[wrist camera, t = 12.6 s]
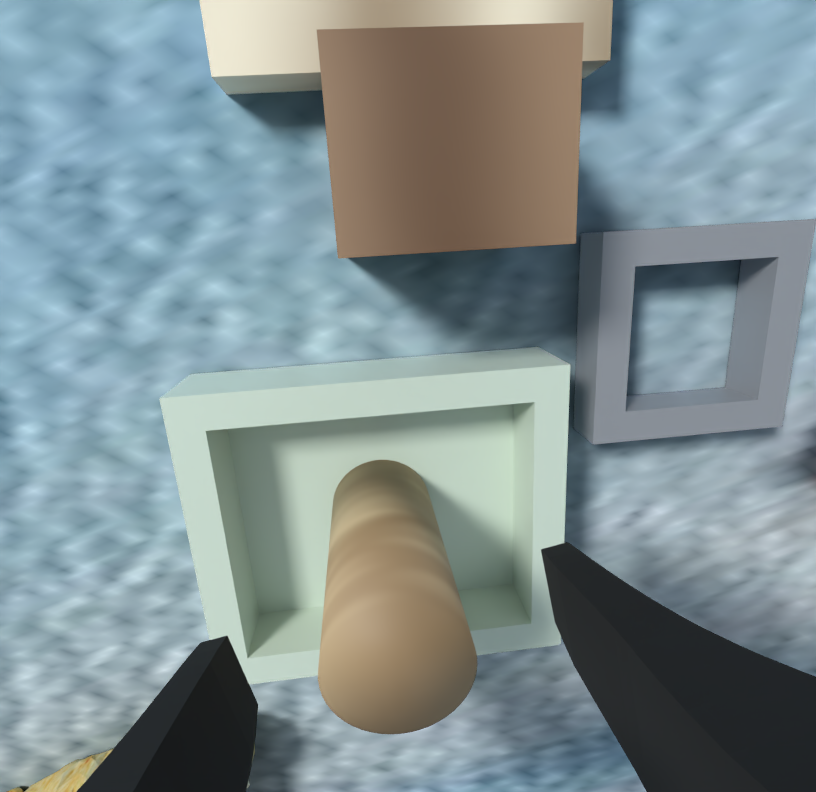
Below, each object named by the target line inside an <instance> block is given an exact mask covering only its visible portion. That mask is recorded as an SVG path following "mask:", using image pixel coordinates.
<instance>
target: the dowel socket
mask: <svg viewBox="0 0 816 792" xmlns="http://www.w3.org/2000/svg"><path fill="white" fill-rule="evenodd" d="M815 224H816V219H807V220H791V221H774V222H758V223H741V224H725V225H708V226H692V227H675V228H659V229H642V230H626V231H610V232H593V233H581V241H580V267H579V293H578V320H577V346H576V373H575V399H574V425H573V428H574V429H575V430H576V431H577V432H578V433H580V434H581V435H582V436H583V437H584V438H586V439H587V440H588V441H589V442H590V443H592V444H604V443H614V442H625V441H635V440H646V439H656V438H667V437H677V436H688V435H698V434H709V433H719V432H730V431H740V430H751V429H761V428H772V427H782V426H783V420H784V413H785V407H786V401H787V395H788V389H789V383H790V377H791V371H792V365H793V359H794V352H795V346H796V340H797V334H798V328H799V322H800V316H801V310H802V304H803V297H804V291H805V285H806V279H807V273H808V267H809V261H810V255H811V249H812V242H813V236H814V230H815ZM739 259H741V265H740V273H739V281H738V289H737V297H736V305H735V313H734V320H733V328H732V336H731V344H730V352H729V360H728V368H727V376H726V384H725V387H723V388H712V389H701V390H689V391H678V392H666V393H655V394H644V395H632V396H626V395H627V381H628V366H629V352H630V337H631V322H632V308H633V293H634V279H635V266H649V265H664V264H679V263H694V262H709V261H724V260H739Z"/></svg>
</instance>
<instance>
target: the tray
mask: <svg viewBox="0 0 816 792" xmlns="http://www.w3.org/2000/svg"><path fill="white" fill-rule="evenodd" d="M569 390H570V364H569V363H567V362H565V361H563V360H561V359H559V358H558V357H556V356H554V355H552V354H550V353H548V352H547V351H545V350H543V349H541V348H539V347H529V348H516V349H504V350H491V351H478V352H466V353H453V354H440V355H427V356H415V357H402V358H389V359H377V360H364V361H351V362H339V363H326V364H313V365H300V366H288V367H275V368H262V369H250V370H237V371H224V372H211V373H199V374H190V375H189V376H187V377H186V378H185V379H183V380H182V381H181V382H180V383H178V384H177V385H176V386H174V387H173V388H172V389H171V390H169V391H168V392H167V393H165V394H164V395H163V396H162V397H160V398H159V399H160V404H161V408H162V413H163V418H164V423H165V428H166V432H167V437H168V442H169V447H170V452H171V457H172V461H173V466H174V471H175V476H176V481H177V485H178V490H179V495H180V500H181V505H182V509H183V514H184V519H185V524H186V529H187V533H188V538H189V543H190V548H191V553H192V557H193V562H194V567H195V572H196V577H197V581H198V586H199V591H200V596H201V601H202V605H203V610H204V615H205V620H206V625H207V629H208V634H209V639H210V640H212V639H216V638H220V637H223V636H228V638H229V640H230V642H231V645H232V647H233V649H234V651H235V654H236V656H237V658H238V661H239V663H240V665H241V667H242V670H243V672H244V674H245V676H246V679H247V681H248V683H249V684H257V683H265V682H273V681H281V680H289V679H296V678H304V677H312V676H318V665H319V654H320V643H321V632H322V620H323V609H324V598H325V586H326V575H327V564H328V552H329V541H330V530H331V519H332V507H333V498H334V494H335V491H336V488H337V486H338V484H339V483H340V481H341V480H342V479H343V477H344V476H345V475H346V474H347V473H348V472H349V471H351V470H352V469H354V468H355V467H357V466H359V465H361V464H363V463H366V462H369V461H373V460H392V461H396V462H400V463H402V464H405V465H407V466H408V467H410V468H412V469H413V470H414V471H415V472H416V473H417V474H418V475H419V476H420V477H421V478H422V480H423V481H424V483H425V485H426V487H427V490H428V493H429V496H430V500H431V503H432V506H433V510H434V513H435V516H436V520H437V523H438V526H439V530H440V533H441V536H442V540H443V543H444V546H445V550H446V553H447V556H448V560H449V563H450V566H451V569H452V573H453V576H454V579H455V583H456V586H457V589H458V593H459V596H460V599H461V603H462V606H463V609H464V613H465V616H466V619H467V623H468V626H469V629H470V632H471V636H472V639H473V642H474V646H475V650H476V654H477V655H485V654H493V653H501V652H509V651H516V650H524V649H532V648H540V647H548V646H556V645H561V635H560V633H559V630H558V628H557V626H556V624H555V620H554V615H553V610H552V605H551V600H550V595H549V589H548V584H547V579H546V574H545V569H544V564H543V558H542V553H541V549H544V548H548V547H551V546H555V545H559V544H562V543H564V534H565V505H566V477H567V448H568V419H569Z"/></svg>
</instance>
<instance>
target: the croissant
mask: <svg viewBox="0 0 816 792" xmlns="http://www.w3.org/2000/svg"><path fill="white" fill-rule="evenodd" d="M113 749H114V748H113ZM113 749H111V750H109V751H106V752H103V753H100V754H96V755H91V756H89V757H87V758H85V759H77V760H75V761H73V762H71V763H69V764H67V765H65V766H64V767H63V768H61V769H60V770H59V771H57V772H55V773H53V774H52V775H50V776H48V777H46V778H44V779H42V780H40V781H39V782H37V783H35V784H33V785H31V786H30V787H29V788H28V789H27V790H26V791H24V792H76V791H77V790H78V789H79V788H80V787H81V786H82V785H83V784H84V783H85V782H86V780H87V779H88V778H89V777H90V776H91V775H92V773H93V772H94V771H95V770H96V769H97V768H98V766H99V765H100V764H101V763H102V762H103V761H104V759H105V758H106V757H107V756H108V755H109V754H110V753H111V751H112V750H113ZM254 753H255V744H254ZM253 757H254V754H253ZM252 761H253V760H252ZM249 786H250V783H249V780H248V785H247V788H248V787H249ZM7 792H23V790H22V789H21V788H19V787H17V788H15V789H12V790H10V791H7Z"/></svg>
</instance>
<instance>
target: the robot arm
mask: <svg viewBox="0 0 816 792" xmlns="http://www.w3.org/2000/svg"><path fill="white" fill-rule="evenodd" d="M541 553H542V558H543V564H544V569H545V574H546V579H547V584H548V589H549V595H550V600H551V605H552V610H553V615H554V620H555V624H556V626H557V628H558V630H559V633H560V635H561V637H562V639H563V642H564V644H565V646H566V648H567V651H568V653H569V655H570V657H571V659H572V662H573V664H574V666H575V668H576V669H577V671H578V673H579V675H580V676H581V678H582V680H583V682H584V683H585V685H586V687H587V689H588V690H589V692H590V694H591V695H592V697H593V699H594V701H595V702H596V704H597V706H598V707H599V709H600V711H601V713H602V714H603V716H604V718H605V719H606V721H607V723H608V724H609V726H610V728H611V730H612V731H613V733H614V735H615V736H616V738H617V740H618V742H619V743H620V745H621V747H622V748H623V750H624V752H625V753H626V755H627V757H628V759H629V760H630V762H631V764H632V765H633V767H634V769H635V771H636V773H637V774H638V776H639V778H640V780H641V782H642V784H643V786H644V787H645V789H646V791H647V792H816V677H815V676H812V675H810V674H807V673H804V672H802V671H799V670H797V669H794V668H792V667H789V666H787V665H784V664H782V663H779V662H777V661H774V660H772V659H769V658H767V657H764V656H762V655H760V654H757V653H755V652H753V651H751V650H748V649H746V648H744V647H741V646H739V645H737V644H735V643H733V642H731V641H729V640H727V639H725V638H723V637H720V636H718V635H716V634H714V633H712V632H710V631H708V630H706V629H704V628H702V627H700V626H698V625H696V624H694V623H692V622H691V621H689V620H687V619H685V618H683V617H682V616H680V615H678V614H676V613H674V612H673V611H671V610H669V609H667V608H666V607H664V606H662V605H661V604H659V603H657V602H656V601H654V600H652V599H651V598H649V597H647V596H646V595H644V594H643V593H641V592H640V591H638V590H636V589H635V588H633V587H632V586H630V585H629V584H627V583H625V582H624V581H622V580H621V579H619V578H618V577H616V576H615V575H613V574H612V573H611V572H609V571H608V570H606V569H605V568H603V567H602V566H600V565H599V564H598V563H596V562H595V561H593V560H592V559H591V558H589V557H588V556H586V555H585V554H584V553H582V552H581V551H579V550H578V549H577V548H575V547H574V546H572V545H571V544H569V543H567V542H566V543H562V544H559V545H555V546H551V547H548V548H544V549H541ZM257 710H258V703H257V701H256V699H255V697H254V694H253V692H252V690H251V688H250V685H249V683H248V681H247V679H246V676H245V674H244V672H243V670H242V667H241V665H240V663H239V661H238V658H237V656H236V654H235V651H234V649H233V647H232V645H231V642H230V640H229V638H228V636H223V637H220V638H216V639H212V640H209V641H205V642H201V643H200V644H199V645H198V646H197V647H196V649H195V650H194V651H193V652H192V653H191V654H190V656H189V657H188V658H187V659H186V661H185V662H184V663H183V664H182V665H181V667H180V668H179V669H178V670H177V672H176V673H175V674H174V675H173V677H172V678H171V679H170V681H169V682H168V683H167V684H166V686H165V687H164V688H163V689H162V691H161V692H160V693H159V694H158V696H157V697H156V698H155V699H154V701H153V702H152V703H151V704H150V706H149V707H148V708H147V709H146V711H145V712H144V713H143V714H142V715H141V717H140V718H139V719H138V720H137V722H136V723H135V724H134V725H133V727H132V728H131V729H130V730H129V732H128V733H127V734H126V735H125V736H124V737H123V739H122V740H121V741H120V742H119V743H118V744H117V746H116V747H115V748H114V749H113V750H112V751H111V753H110V754H109V755H108V756H107V757H106V758H105V759H104V761H103V762H102V763H101V764H100V765H99V766H98V768H97V769H96V770H95V771H94V772H93V773H92V775H91V776H90V777H89V778H88V779H87V780H86V782H85V783H84V784H83V785H82V786H81V787H80V788H79V789H78V790H77V791H76V792H246V789H247V785H248V780H249V775H250V770H251V765H252V760H253V754H254V744H255V735H256V723H257Z"/></svg>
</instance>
